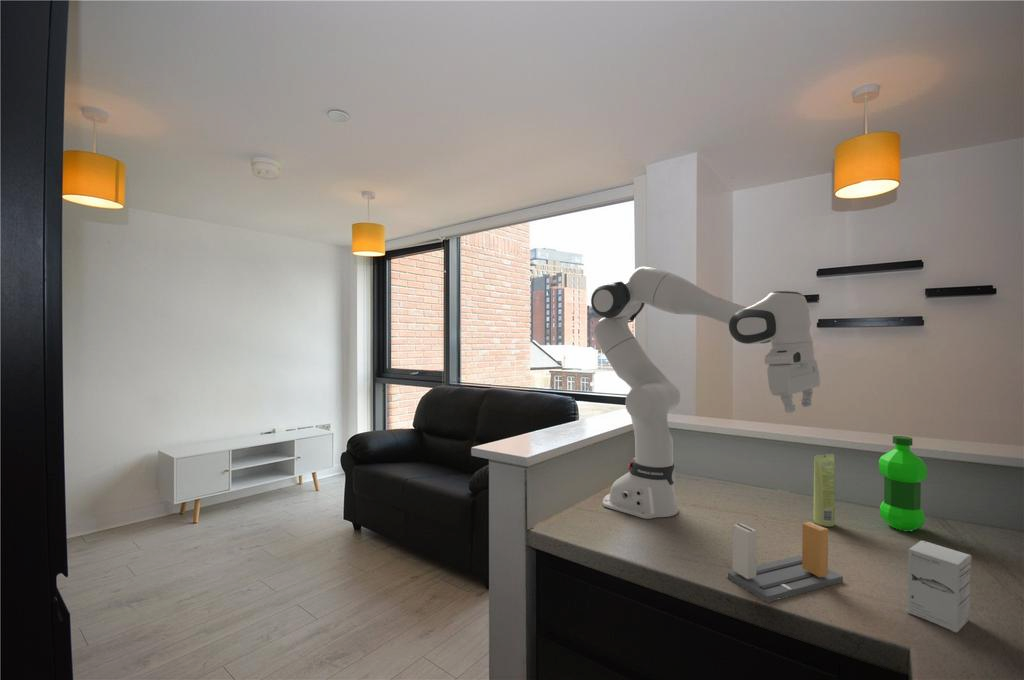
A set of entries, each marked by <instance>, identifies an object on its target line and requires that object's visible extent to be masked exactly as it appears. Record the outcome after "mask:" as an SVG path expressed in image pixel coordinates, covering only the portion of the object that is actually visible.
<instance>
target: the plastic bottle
mask: <svg viewBox="0 0 1024 680" xmlns="http://www.w3.org/2000/svg"><path fill="white" fill-rule="evenodd" d="M892 444H894V449H891V450H889V451H887V452H886V453H884V454H883V455H881V456H880V457H879V460H878V469H879V473H880V474H881V475H882V476H883V477H884V479H883V480H884V483H883V484H884V485H883V486H884V487H883V488H884V490H883V492H884V494H883V495H884V496H883V498H884V499H883V501H882V502H881V504H880V505H879V515H880V517H881V519H882V520H883V521H884V522H885V523H886V524H887V525H889V527H891V526H892V527H894V528H896V529H895V530H898V529H899V531H901V530H905V531H904V532H908V531H910V530H914V531H916V530H918V529H920V528H922V527H923V526H924V524H925V522H926V516H925V513H924V511H923V509H922V508H921V485H922V482H923V481H925V480H927V476H928V468H927V466H926V463H925V461H923V459H921V458H920V457H919V456H918V455H917V454H916V453H914V452H912V450H910V449H911V446H913V437H910V436H905V435H904V436H902V435H892ZM892 527H891V528H892ZM894 528H893V529H894ZM906 530H907V531H906ZM910 532H911V531H910Z"/></svg>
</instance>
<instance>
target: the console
mask: <svg viewBox="0 0 1024 680" xmlns="http://www.w3.org/2000/svg"><path fill="white" fill-rule="evenodd" d="M728 577H729V578H730V579H729V578H728ZM727 578H728V579H729V580H731V579H732V580H733V581H732V580H731V581H732V582H734V581H735V582H736V584H737V583H738V584H737V585H739V586H740V585H741V586H740V587H742V586H743V587H744V588H743V587H742V588H743V589H745V588H746V589H748V590H749V591H748V590H747V591H748V592H750V591H751V592H752V593H751V592H750V593H751V594H753V593H754V594H755V596H756V595H757V596H756V597H758V598H759V597H760V598H759V599H761V600H762V599H763V601H764V602H765V601H766V602H765V603H770V602H769V601H771V602H773V601H772V600H775V599H778V598H782V599H784V598H783V597H785V598H787V597H786V596H789V597H791V596H790V595H793V596H796V595H799V593H800V594H803V592H804V593H807V592H810V591H814V590H817V589H821V588H825V587H828V586H832V585H835V584H840V583H843V581H844V580H843V579H844V576H843V575H841V574H840V573H837V572H834V571H833V570H831V569H829V568H828V575H827V576H823V577H818V576H816V575H814V574H812V573H810V572H808V571H806V570H804V569H803V568H802V555H800V554H799V555H795V556H790V557H786V558H782V559H778V560H777V559H776V560H774V561H768V562H765V563H761V564H756V577H755V578H751V579H746V578H745V577H743V576H742V575H740V574H738V573H737V572H735V571H733V570H731V571H727ZM735 582H734V583H735ZM746 589H745V590H746ZM754 594H753V595H754ZM795 594H796V595H795ZM778 600H779V599H778ZM775 601H776V600H775Z"/></svg>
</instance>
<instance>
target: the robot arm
mask: <svg viewBox="0 0 1024 680" xmlns="http://www.w3.org/2000/svg"><path fill="white" fill-rule="evenodd" d="M590 303H591V308H592V310H593V311H594V312H595V313H596V314H597V315H599V316H600V317H601V319H599V320H598V321H597V322H596V323H595V326H594V327H593V328H594V329H593V332H594V335H595V338H596V341H597V343H598V345H599V347H600V349H601V351H602V353H603V354H604V356H605V358H606V359H607V361H608V363H609V364H610V366H611V367H612V369H613V370H614V372H615V374H616V375H617V376H618V378H620V379H621V380H622V381H623V382H625V383H626V384H627V386H629V387H630V388H631V390H630V391H629V392H628V394H627V395H626V397H625V403H624V404H625V408H626V410H627V413H628V414H629V415H630V419H631V422H632V426H633V427H632V428H633V433H634V442H635V443H634V444H635V445H634V451H635V453H634V454H635V455H634V456H635V457H633V458H631V460H630V461H629V462H628V464H627V469H628V472H627V473H625V474H623V475H622V476H620V477H619V478H617V479H616V480H615V481H614V482H613V483H612V484H611V485H612V486H611V488H610V492H609V493H608V494H606V495H605V496H604V497H603V499H602V506H603V507H605V508H608V509H612V510H614V511H617V512H621V513H625V514H628V515H632V516H634V517H638V518H642V519H645V520H650V519H655V518H667V517H673V516H675V515H677V514H678V512H679V507H678V504H677V500H676V495H675V493H676V492H675V487H674V485H675V481H676V477H675V476H676V470H675V464H674V457H673V456H674V445H673V444H674V438H673V436H672V434H671V432H670V428H669V427H670V425H669V422H668V415H669V414H671V413H672V412H673V411H675V410H676V409H677V407H678V406H679V404H680V401H681V393H680V390H679V388H678V387H677V386H676V385H675V384H674V383H672V382H671V381H670V380H669V379H668V378H667V376H665V374H664V373H663V372H662V371H661V370H660V368H658V367H657V365H655V364H654V362H653V361H652V360H651V359H650V357H649V356H648V355H647V353H646V352H645V350H644V349H643V347H642V346H641V344H640V342H639V341H638V340H637V338H636V337H635V336H634V334H633V332H632V331H631V329H630V326H629V323H632V322H633V321H634V320H635V319H636V317H637V316H638V315H639V314H640V312H642V310H643V309H644V307H645V304H646V305H648V306H651V307H653V308H656V309H658V310H661V311H662V312H666V313H670V314H674V315H686V316H687V315H690V316H691V315H693V316H702V317H707V318H710V319H713V320H715V321H718V322H720V323H722V324H726V325H728V330H729V333H730V336H731V337H732V338H733V339H734V340H735V341H737V342H738V343H741V344H745V345H757V344H767V343H771V349H770V351H768V353H767V354H766V355H764V364H765V365H767V370H766V373H767V380H768V387H769V391H770V393H771V395H773V396H775V397H776V396H777V397H778V396H780V400H781V402H782V404H783V405H784V411H785V412H786V413H790V414H791V413H793V412H796V404H794V403H793V394H797V393H800V392H801V393H802V399H800V400H801V406H802V407H804V408H809V407H811V406H812V405H813V404H812V398H813V393H814V390H813V388H817V387H820V384H821V377H820V372H819V366H818V362H817V360H816V359H815V352H814V343H813V337H812V336H811V333H810V332H811V331H810V329H811V315H810V310H809V305H808V301H807V299H806V297H805V295H804V294H802V293H800V292H798V291H790V290H788V291H787V290H784V291H783V290H779V291H778V290H776V291H772V292H770V293H768V295H767V296H765V297H764V298H762V299H761V300H760V301H758V302H755V303H754V304H751V305H750V306H743V305H740V304H737V303H734V302H732V301H729V300H727V299H723V298H721V297H719V296H715V295H713V294H712V293H709V292H708V291H706V290H705V289H702V288H701V287H700V286H697V285H696V284H695V283H692V282H691V281H689V280H687V279H685V278H683V277H682V276H680V275H678V274H675V273H672V272H669V271H667V270H662V269H660V268H655V267H649V266H648V267H647V266H639V267H637V268H636V269H635V270H634V271H633V272H632V273H631V275H630V277H629V279H628V280H627V281H626V282H623V281H621V280H620V281H615V282H610V283H605V284H601V285H599V286H597V287H596V289H594V291H593V293H592V294H591V298H590Z"/></svg>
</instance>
